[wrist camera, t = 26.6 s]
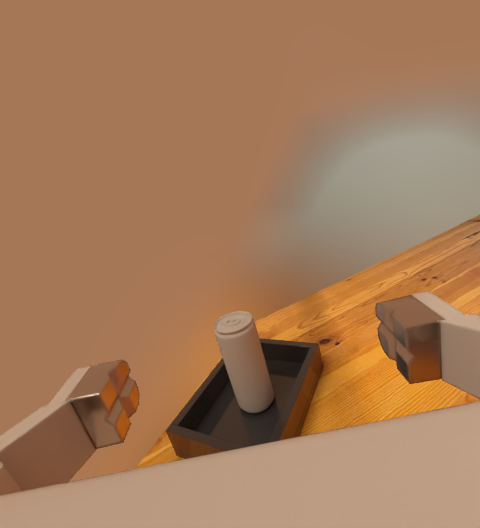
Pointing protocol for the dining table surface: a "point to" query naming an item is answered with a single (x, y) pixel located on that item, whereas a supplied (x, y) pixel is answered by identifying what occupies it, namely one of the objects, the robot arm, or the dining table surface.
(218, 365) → the dark shallow tray
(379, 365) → the dining table surface
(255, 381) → the beverage can
